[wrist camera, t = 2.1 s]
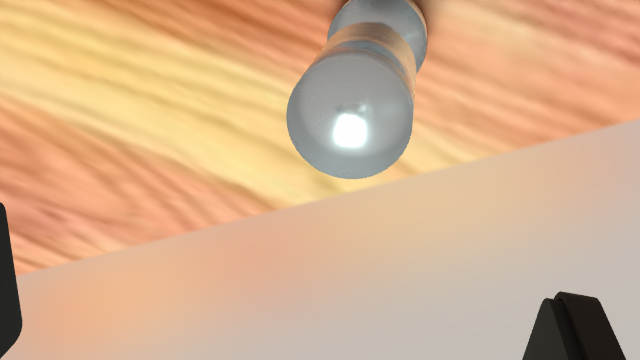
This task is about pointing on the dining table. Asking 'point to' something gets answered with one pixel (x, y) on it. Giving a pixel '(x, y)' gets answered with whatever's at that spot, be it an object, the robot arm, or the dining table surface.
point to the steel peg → (360, 90)
